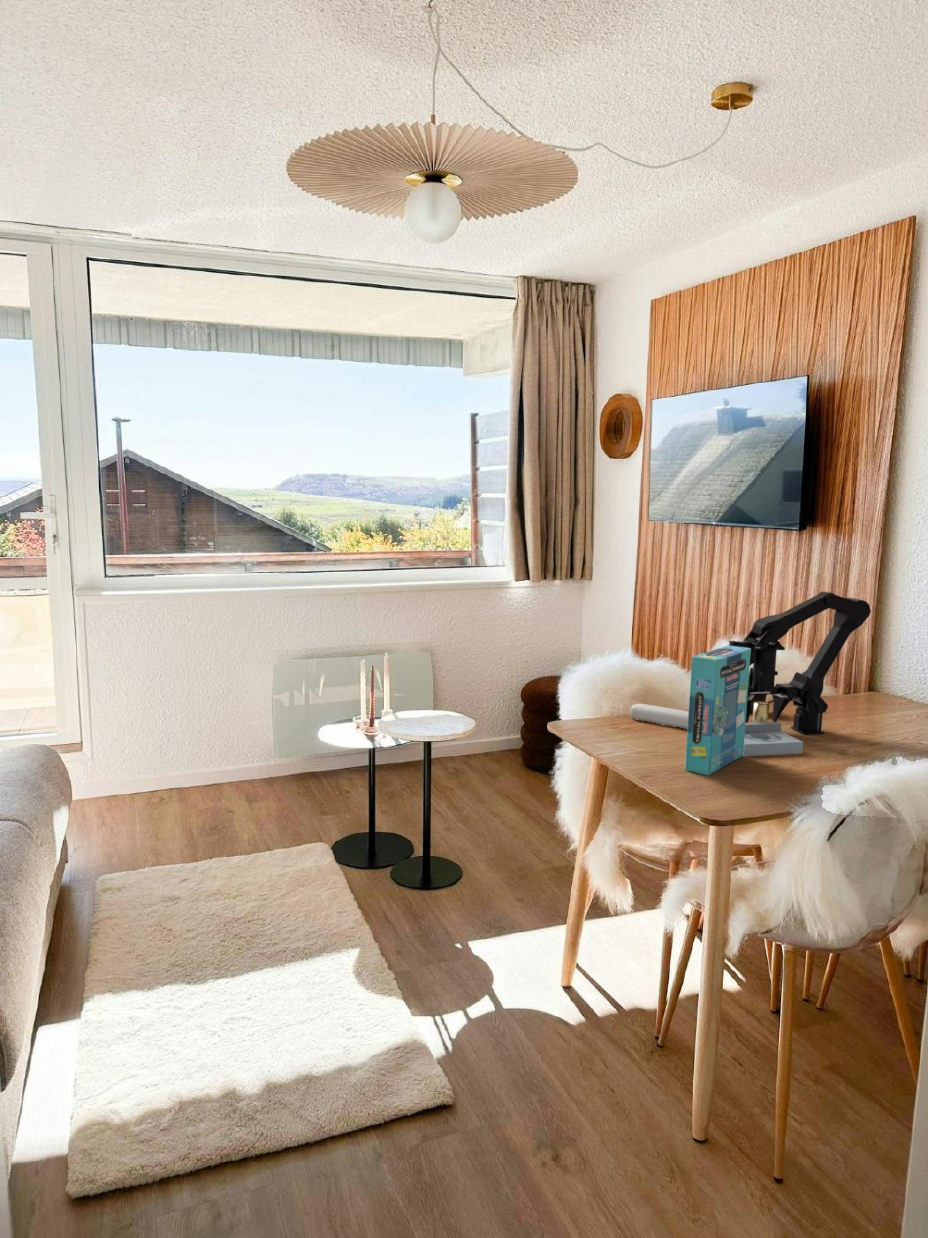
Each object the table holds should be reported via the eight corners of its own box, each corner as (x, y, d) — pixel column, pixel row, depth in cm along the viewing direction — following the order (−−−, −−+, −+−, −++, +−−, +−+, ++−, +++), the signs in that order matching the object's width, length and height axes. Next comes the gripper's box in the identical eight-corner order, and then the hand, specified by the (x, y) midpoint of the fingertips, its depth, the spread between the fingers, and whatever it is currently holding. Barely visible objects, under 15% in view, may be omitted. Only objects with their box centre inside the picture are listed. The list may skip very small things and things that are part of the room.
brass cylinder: (762, 729, 238) (764, 701, 237) (770, 733, 234) (772, 704, 233) (748, 730, 237) (750, 701, 236) (756, 734, 233) (758, 705, 232)
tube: (625, 707, 245) (711, 721, 230) (634, 698, 249) (718, 712, 234) (628, 723, 247) (712, 739, 232) (636, 714, 251) (720, 729, 236)
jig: (775, 740, 228) (777, 721, 227) (802, 753, 216) (804, 734, 216) (720, 742, 225) (721, 723, 224) (744, 756, 213) (745, 736, 212)
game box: (719, 751, 217) (726, 644, 213) (744, 756, 213) (751, 648, 209) (683, 770, 201) (690, 655, 197) (709, 776, 197) (717, 659, 193)
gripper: (778, 659, 243) (774, 713, 245) (717, 660, 239) (714, 716, 241) (802, 667, 232) (797, 724, 234) (738, 669, 228) (734, 726, 231)
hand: (760, 722), depth 235 cm, fingers open, 8 cm apart
